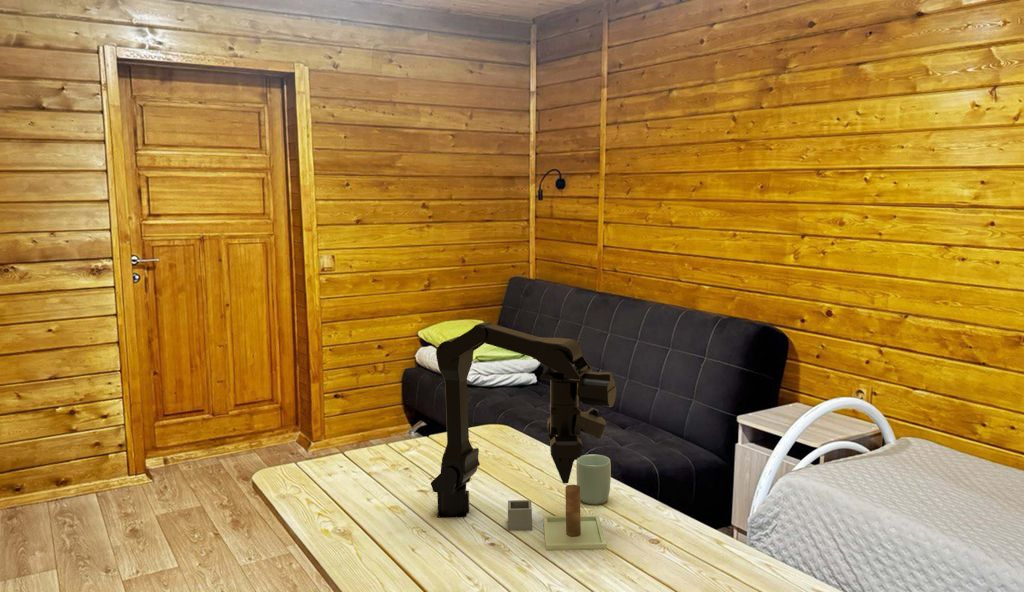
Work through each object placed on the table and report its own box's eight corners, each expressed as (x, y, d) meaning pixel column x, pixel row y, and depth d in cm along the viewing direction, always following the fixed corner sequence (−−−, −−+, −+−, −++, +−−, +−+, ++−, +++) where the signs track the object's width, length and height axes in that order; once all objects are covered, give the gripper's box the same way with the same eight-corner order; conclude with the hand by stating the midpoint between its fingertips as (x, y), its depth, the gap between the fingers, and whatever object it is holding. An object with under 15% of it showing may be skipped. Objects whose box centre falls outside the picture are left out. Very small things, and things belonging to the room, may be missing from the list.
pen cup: (508, 532, 165) (507, 509, 165) (508, 522, 170) (508, 500, 170) (532, 532, 165) (531, 509, 165) (531, 522, 170) (531, 500, 170)
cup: (609, 509, 176) (609, 466, 175) (574, 507, 178) (574, 464, 176) (612, 496, 184) (611, 455, 182) (578, 494, 185) (578, 453, 184)
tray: (545, 552, 156) (545, 545, 156) (543, 522, 170) (543, 516, 170) (606, 551, 156) (606, 544, 156) (598, 521, 170) (598, 515, 170)
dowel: (566, 537, 161) (565, 490, 160) (565, 530, 164) (564, 484, 163) (581, 536, 161) (580, 490, 160) (580, 530, 164) (579, 484, 163)
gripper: (608, 414, 152) (608, 492, 154) (599, 389, 170) (598, 459, 172) (551, 414, 152) (551, 492, 154) (547, 389, 170) (547, 459, 172)
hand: (564, 474), depth 163 cm, fingers open, 9 cm apart
